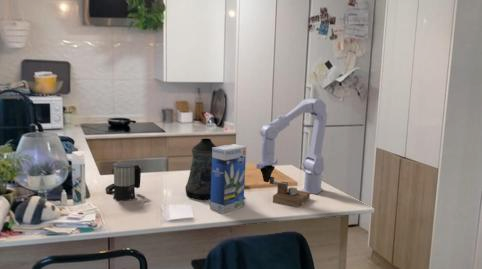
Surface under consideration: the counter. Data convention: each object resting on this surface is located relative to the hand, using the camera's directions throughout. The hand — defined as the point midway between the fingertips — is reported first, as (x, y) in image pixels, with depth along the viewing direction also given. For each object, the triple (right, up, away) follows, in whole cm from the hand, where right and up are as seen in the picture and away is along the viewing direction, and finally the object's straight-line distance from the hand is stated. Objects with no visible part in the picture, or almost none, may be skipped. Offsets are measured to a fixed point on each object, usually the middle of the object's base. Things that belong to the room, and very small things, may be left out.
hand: (266, 181), depth 218 cm
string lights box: (-17, -9, -18) cm, 27 cm away
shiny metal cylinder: (+11, -8, -4) cm, 14 cm away
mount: (+11, -8, -4) cm, 14 cm away
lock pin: (+5, -1, -2) cm, 6 cm away
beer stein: (-28, -6, -1) cm, 29 cm away
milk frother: (-64, -5, -8) cm, 65 cm away
